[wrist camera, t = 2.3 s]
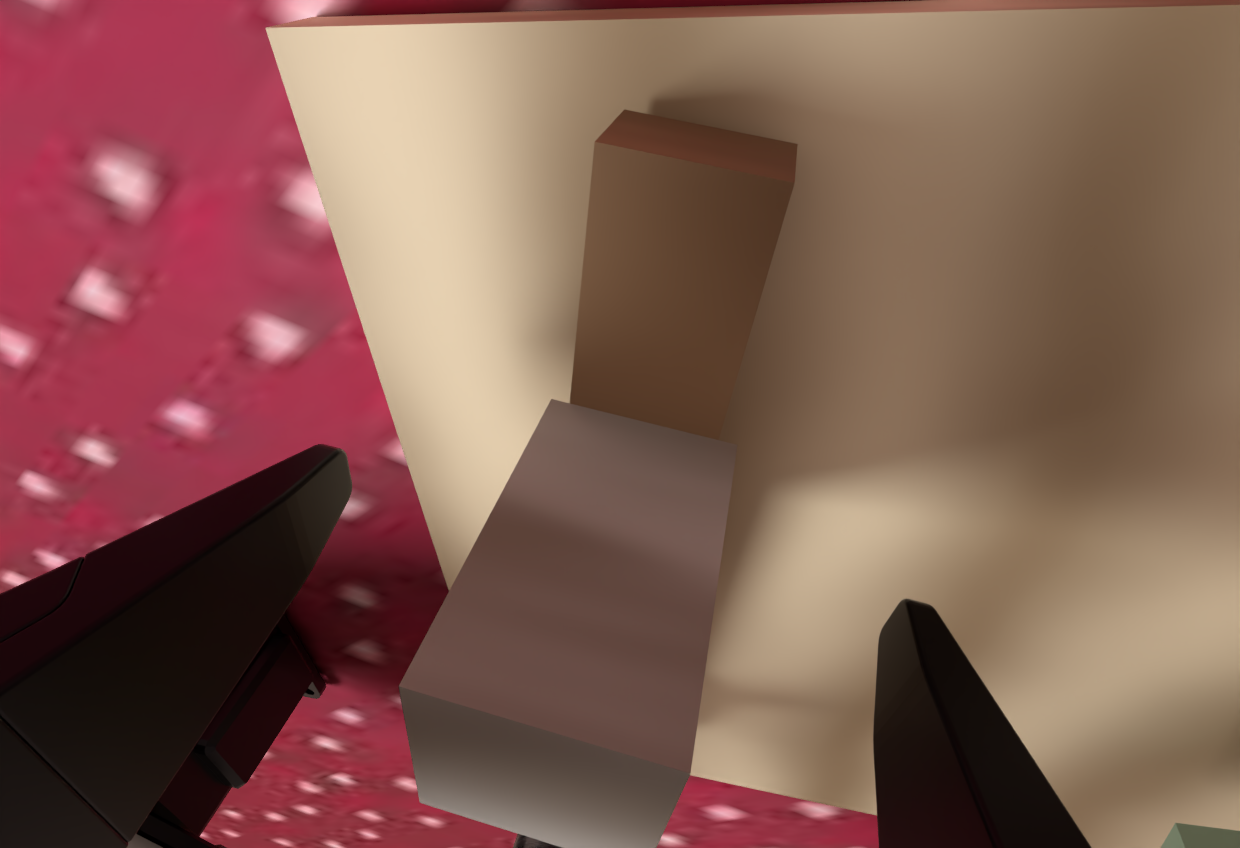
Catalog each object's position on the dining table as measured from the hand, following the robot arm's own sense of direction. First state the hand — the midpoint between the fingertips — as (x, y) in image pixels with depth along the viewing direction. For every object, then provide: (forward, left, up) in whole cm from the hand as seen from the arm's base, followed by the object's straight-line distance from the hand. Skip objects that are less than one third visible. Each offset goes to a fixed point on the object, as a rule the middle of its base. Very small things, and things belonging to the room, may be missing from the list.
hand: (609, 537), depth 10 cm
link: (-1, -3, -3) cm, 4 cm away
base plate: (+6, -4, -4) cm, 9 cm away
